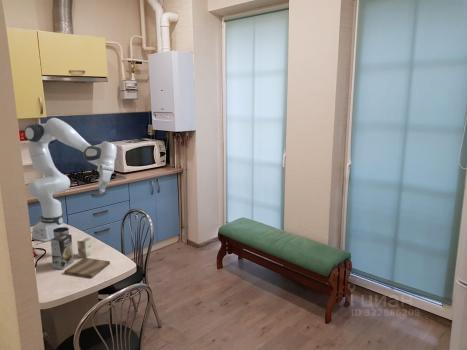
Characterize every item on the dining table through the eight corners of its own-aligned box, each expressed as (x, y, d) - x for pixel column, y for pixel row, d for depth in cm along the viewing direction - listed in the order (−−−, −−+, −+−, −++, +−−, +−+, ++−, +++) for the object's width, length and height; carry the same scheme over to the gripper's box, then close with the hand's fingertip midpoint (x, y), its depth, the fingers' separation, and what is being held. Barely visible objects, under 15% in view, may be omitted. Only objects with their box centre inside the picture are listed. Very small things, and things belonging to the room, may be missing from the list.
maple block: (78, 256, 204) (77, 240, 201) (84, 253, 208) (82, 237, 206) (86, 258, 203) (85, 241, 200) (91, 254, 207) (90, 238, 205)
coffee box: (63, 269, 189) (60, 240, 186) (52, 268, 190) (49, 239, 187) (74, 261, 198) (71, 234, 194) (63, 260, 199) (61, 233, 195)
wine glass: (73, 252, 209) (71, 227, 206) (64, 258, 202) (62, 232, 199) (61, 250, 211) (59, 226, 208) (52, 256, 204) (49, 231, 200)
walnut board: (64, 273, 185) (64, 270, 185) (84, 260, 200) (84, 257, 200) (92, 278, 181) (92, 275, 181) (109, 263, 197) (109, 261, 196)
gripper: (97, 171, 214) (93, 194, 211) (102, 165, 196) (97, 190, 193) (108, 173, 217) (105, 195, 214) (114, 167, 198) (110, 192, 196)
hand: (101, 193), depth 203 cm, fingers open, 8 cm apart
